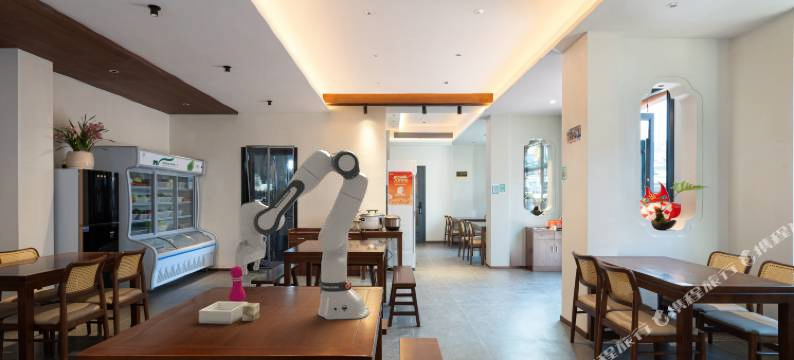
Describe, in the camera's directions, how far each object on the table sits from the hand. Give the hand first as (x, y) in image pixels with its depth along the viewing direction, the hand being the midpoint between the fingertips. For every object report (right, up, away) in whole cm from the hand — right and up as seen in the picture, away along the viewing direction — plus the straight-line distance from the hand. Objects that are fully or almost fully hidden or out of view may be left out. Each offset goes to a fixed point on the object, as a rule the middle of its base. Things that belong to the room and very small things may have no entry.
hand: (250, 272), depth 172 cm
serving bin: (-12, -20, +1) cm, 23 cm away
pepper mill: (-13, -20, +19) cm, 31 cm away
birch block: (0, -20, -1) cm, 20 cm away
